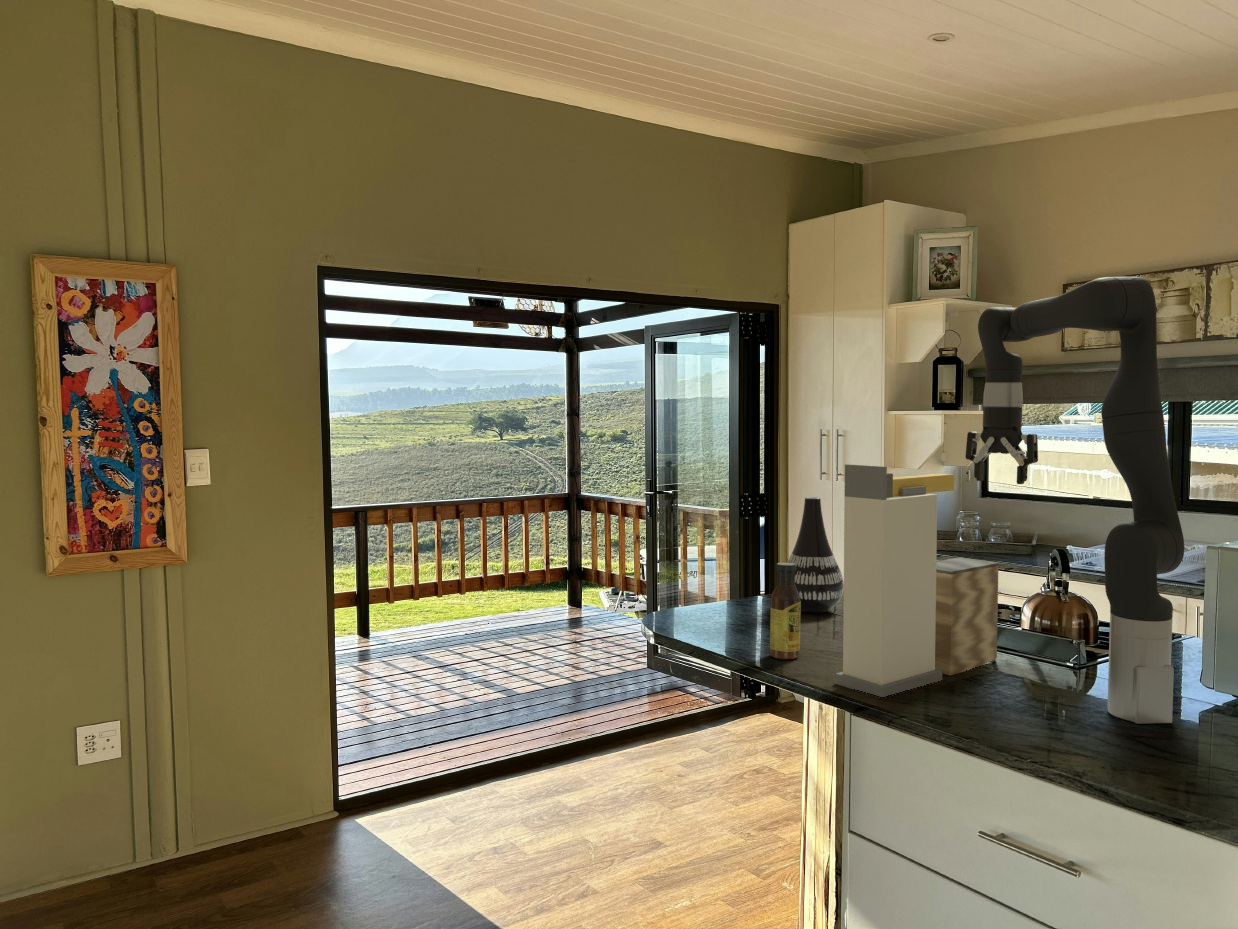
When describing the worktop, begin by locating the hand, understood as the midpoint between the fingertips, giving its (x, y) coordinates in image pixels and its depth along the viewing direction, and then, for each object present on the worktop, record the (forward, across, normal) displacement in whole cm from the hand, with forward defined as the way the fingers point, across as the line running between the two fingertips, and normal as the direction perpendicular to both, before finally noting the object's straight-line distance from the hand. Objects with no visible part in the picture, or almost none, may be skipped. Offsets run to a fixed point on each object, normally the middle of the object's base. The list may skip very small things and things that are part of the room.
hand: (1000, 482), depth 193 cm
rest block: (+37, -3, -12) cm, 39 cm away
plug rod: (+1, -6, -27) cm, 28 cm away
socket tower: (+36, -6, -33) cm, 50 cm away
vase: (+38, -51, +8) cm, 64 cm away
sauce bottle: (+37, -30, -32) cm, 58 cm away
